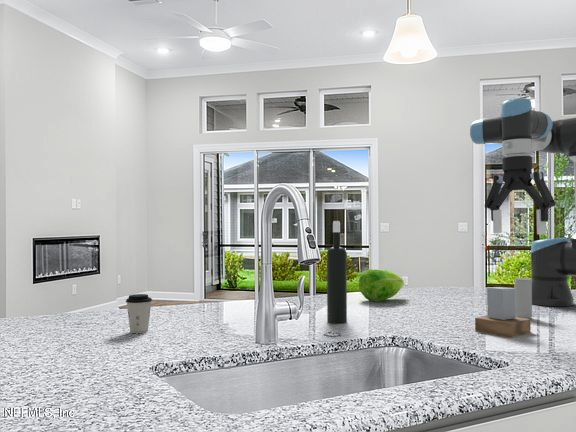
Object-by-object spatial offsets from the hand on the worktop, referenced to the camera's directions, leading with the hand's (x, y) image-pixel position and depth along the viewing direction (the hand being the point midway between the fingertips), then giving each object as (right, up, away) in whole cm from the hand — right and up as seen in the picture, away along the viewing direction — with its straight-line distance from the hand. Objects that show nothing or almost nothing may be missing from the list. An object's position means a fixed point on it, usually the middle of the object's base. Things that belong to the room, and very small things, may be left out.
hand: (518, 233), depth 141 cm
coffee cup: (-104, -27, -1) cm, 108 cm away
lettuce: (-27, -27, +52) cm, 65 cm away
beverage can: (+9, -27, +16) cm, 32 cm away
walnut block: (-6, -27, -3) cm, 28 cm away
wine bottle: (-49, -27, +11) cm, 57 cm away
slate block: (-6, -23, -3) cm, 23 cm away
